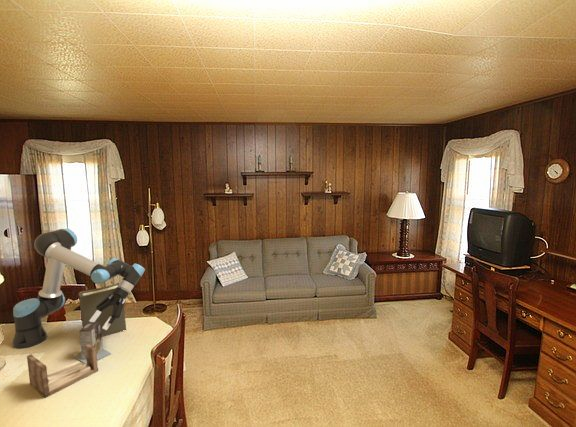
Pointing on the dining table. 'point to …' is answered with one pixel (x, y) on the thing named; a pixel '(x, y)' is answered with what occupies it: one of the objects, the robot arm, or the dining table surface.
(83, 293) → the book
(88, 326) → the coffee box
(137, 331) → the dining table surface
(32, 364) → the rack
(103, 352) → the mat
